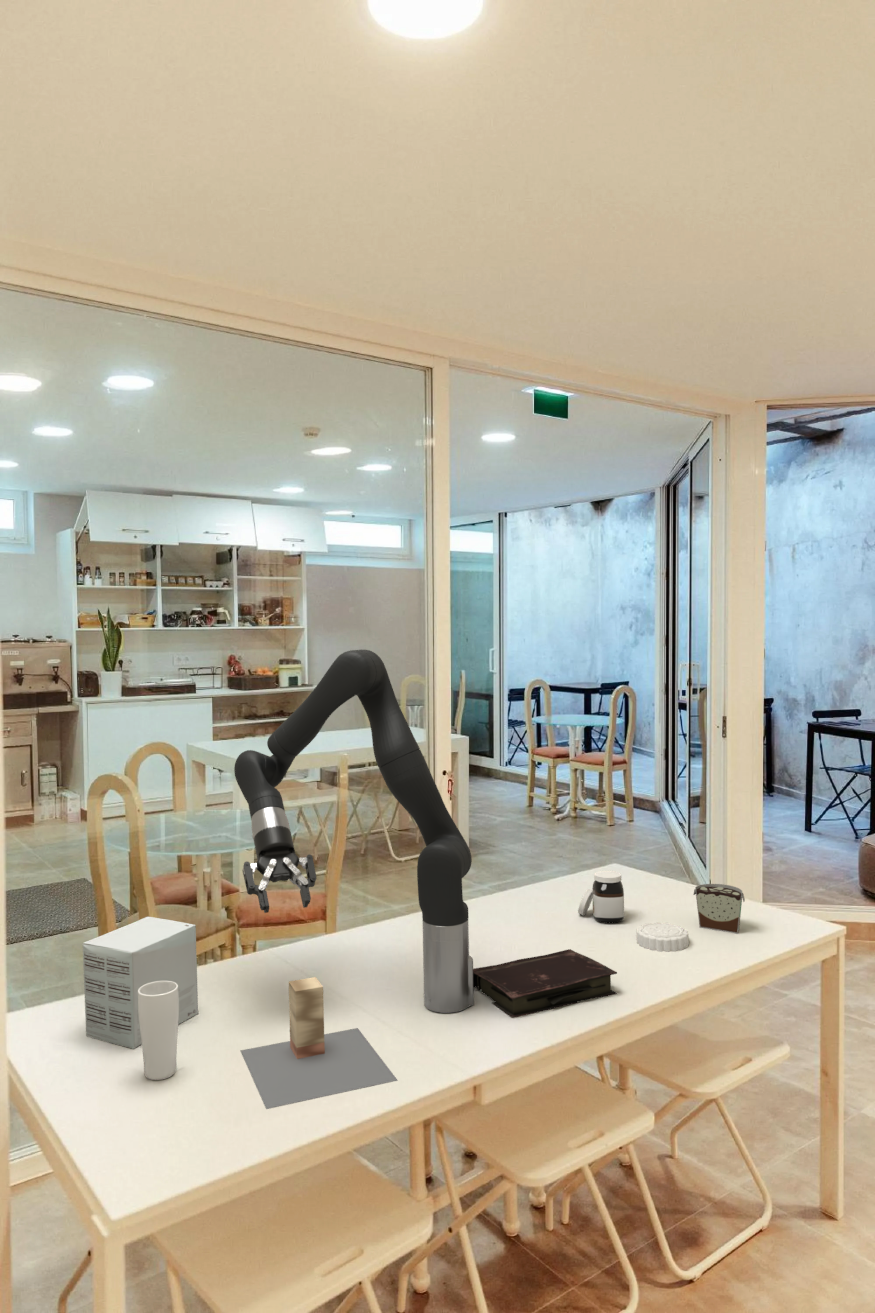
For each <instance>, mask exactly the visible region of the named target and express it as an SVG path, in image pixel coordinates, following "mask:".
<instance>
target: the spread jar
mask: <svg viewBox="0 0 875 1313" xmlns="http://www.w3.org/2000/svg"><path fill="white" fill-rule="evenodd" d="M593 878H594V881H593V883H592V889H590V888H587V889H586V890H585V892H584V893H583V895H582V898H581V900H580V902H579V906H578V910H577V913H578V914H580V915H582V916H585V915H586V914H587V912H588V910H589V908H590V906H591V903H592V914H593V915H592V916H593V919H594V920H595V921H596V922H598V923H601V924H602V923H603V924H617V923H620V922H622V921H623V920H624V917H625V893H624V892H625V890H624V886H623V883H622V873H620V872H619V871H613V870H599V871H595V872H594V877H593Z"/></svg>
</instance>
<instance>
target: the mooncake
mask: <svg viewBox="0 0 875 1313" xmlns="http://www.w3.org/2000/svg"><path fill="white" fill-rule="evenodd" d="M635 932H636V935H635V936H636V939H635V940H636V944H637V945H639V947H642V948H643V949H646V950H650V951H652V952H653V951H654V952H655V951H656V952H659V953H660V952H661V953H662V952H665V953H669V952H678V951H682V950H684V949H687V948H688V946H689V931H688V930H687V929H685V928H684V927H681V925H676V924H672V923H669V922H653V923H644V924H643V925H639V926H638V927H637V928H636V931H635Z"/></svg>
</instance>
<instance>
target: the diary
mask: <svg viewBox="0 0 875 1313" xmlns="http://www.w3.org/2000/svg"><path fill="white" fill-rule="evenodd" d="M616 974H618V972H617V971H615V970H613V969H612V968H610V967H608V966H606V965H604V964H602V963H600V962H599V961H597V960H595V959H593V958H591V957H588V956H586V955H584V954H581V953H579V952H577V951H575V950H572V949H571V948H570V949H564V950H560V951H557V952H553V953H547V954H545V955H543V954H542V955H538V956H531V957H526V958H524V957H523V958H520V959H516V960H512V961H508V962H504V963H500V964H495V965H494V964H493V965H487V966H482V967H481V966H480V967H476V968H474V967H473V985H474V988H477V990H475V992H477V991H481V993H482V994H483V995H484V996H486V997H488V998H490V1000H492V1001H493V1002H491V1004H492V1005H493V1006H495V1007H496V1008H498V1009H499V1010H500V1011H501V1012H503V1013H504V1014H506V1015H507V1016H508V1017H513V1018H517V1017H524V1016H528V1015H532V1014H537V1013H541V1012H545V1011H549V1010H554V1009H558V1008H562V1007H565V1006H571V1005H575V1004H579V1003H581V1002H583V1001H587V1000H594V999H599V998H600V999H601V998H605V997H609V996H614V995H618V992H616V991H614V990H613V989H612V984H611V983H612V981H611V976H612V975H616Z"/></svg>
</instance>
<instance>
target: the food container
mask: <svg viewBox="0 0 875 1313" xmlns="http://www.w3.org/2000/svg"><path fill="white" fill-rule="evenodd" d="M694 888H695V889H694V890H693V896H695V897H696V898H695V899H696V906H697V907H696V908H697V909H696V910H697V917H698V926H699V928H700V929H704V930H705V929H706V930H712V931H718V932H725V933H730V934H739V932H740V926H741V925H740V924H741V915H742V914H741V913H742V904H743V903H744V902H745V900H746V899H745V896H744V892H743V890H742V889H741V888H739V887H736V886H733V885H729V884H725V883H724V884H723V883H705V884H699V885H696V886H695V887H694ZM742 902H743V903H742Z"/></svg>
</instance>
